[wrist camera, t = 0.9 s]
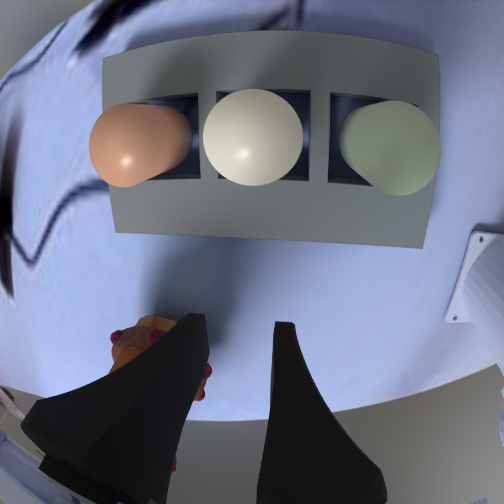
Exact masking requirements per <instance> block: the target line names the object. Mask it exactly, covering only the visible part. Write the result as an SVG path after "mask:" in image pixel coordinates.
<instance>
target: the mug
mask: <svg viewBox="0 0 504 504" xmlns="http://www.w3.org/2000/svg"><path fill="white" fill-rule="evenodd" d="M177 323H178V322H176V321H174V320H172V319H166V318H164V317H160V316H156V315H149V316H145V317H143V318H140V319H139V321H138V322H137V324H136V325H135V326H134V327H130V328H127V329H124V330H122V331H121V330H117V331H115V332H114V333H112V334H111V338H110V339H111V342H112V343H113V347H112V357H113V360H114V364H113V366H112V368H111V370H110V372H109V374H110V373H112V372H113V371H115V370H117V369H118V368H120V367H122V366H123V365H125V364H127V363H128V362H130V361H131V360H133V359H134V358H135V357H137V356H138V355H139V354H141V353H142V352H143V351H145V350H146V349H147V348H149V347H150V346H151V345H153V344H154V343H155V342H156V341H157V340H159V339H160V338H161V337H162V336H163V335H165V334H166V333H167V332H168V331H169V330H170V329H171V328H173V327H174V326H175V325H176V324H177ZM211 373H212V368H211V366H210V365H209V363H207V365H206V368H205V372H204V375H203V378H202V381H201V383H200V386H199V388H198V390H197V393H196V395H195V398H194V400H193V401H195V400H196V401H201V400H203V399H204V397H205V391H204V386H205V384H206V381H207V378H208V377H210V375H211ZM175 470H176V456H175V459H174V463H173V467H172V472H174V471H175ZM172 472H171V473H172Z"/></svg>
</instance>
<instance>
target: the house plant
mask: <svg viewBox="0 0 504 504" xmlns="http://www.w3.org/2000/svg"><path fill="white" fill-rule="evenodd" d="M7 412H8V411H7V409H6V408H5V407H4V406H3V405H2V404H1V403H0V423H3V420H4V418H5V416H6V414H7Z"/></svg>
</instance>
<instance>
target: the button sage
mask: <svg viewBox="0 0 504 504" xmlns="http://www.w3.org/2000/svg"><path fill="white" fill-rule="evenodd" d="M338 145H339V149H340V152H341V155H342V157H343V158H344V160H345V162H346V163H347V164H348V165H349V166H350V167H351V168H352V169H353V170H355V171H356V172H357V173H358V174H359V175H361V176H362V177H363V178H364V179H365V180H367V181H368V182H369V183H370V184H371V185H372V186H374V187H375V188H377V189H378V190H380V191H382V192H384V193H387V194H390V195H397V196H402V195H409V194H412V193H415V192H417V191H419V190H421V189H422V188H423V187H425V186H426V185H427V184H428V183H429V182H430V181H431V179H432V178H433V176H434V175H435V173H436V170H437V168H438V165H439V161H440V141H439V137H438V134H437V131H436V129H435V127H434V125H433V123H432V122H431V120H430V119H429V118H428V116H427V115H426V114H425V113H424V112H423V111H421V110H420V109H419V108H417V107H415V106H414V105H412V104H409V103H407V102H403V101H396V100H395V101H385V102H380V103H376V104H371V105H367V106H363V107H359V108H357V109H355V110H353V111H352V112H350V113H349V114H348V115H347V116H346V117H345V118H344V120H343V122H342V123H341V126H340V128H339V132H338Z"/></svg>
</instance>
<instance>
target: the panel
mask: <svg viewBox="0 0 504 504" xmlns="http://www.w3.org/2000/svg"><path fill="white" fill-rule="evenodd" d="M244 89H261V90H266V91H269V92H272V93H297V94H309V145H308V175H295V174H285V175H284V176H283V177H281V178H280V179H278V180H276V181H274V182H272V183H269V184H265V185H259V186H248V185H242V184H238V183H235V182H233V181H231V180H229V179H227V178H225V177H224V176H222V175H221V174H220V173H219V172H218V171H217V170H216V169H215V168H214V167H213V165H212V164H211V162H210V161H209V159H208V157H207V155H206V152H205V148H204V143H203V131H204V125H205V122H206V119H207V117H208V115H209V113H210V112H211V110H212V109H213V107H214V106H215V105H216V104H217V103H218V102H219V101H220V100H222V99H223V98H224V97H225V94H231V93H234V92H237V91H240V90H244ZM194 96H198V114H199V148H200V172H201V173H182V174H159V175H156V176H154V177H152V178H150V179H147V180H145V181H143V182H141V183H139V184H136V185H134V186H131V187H116V186H113V185H111V184H109V183H108V185H109V193H110V200H111V207H112V213H113V220H114V226H115V231H116V233H136V234H163V235H188V236H211V237H232V238H253V239H272V240H291V241H309V242H326V243H343V244H359V245H375V246H390V247H405V248H419V249H423V244H424V240H425V235H426V230H427V225H428V220H429V215H430V209H431V203H432V197H433V190H434V183H435V175H436V173H435V175H434V176H433V178H432V179H431V181H430V182H429V183H428V184H427V185H426V186H425V187H423V188H422V189H421V190H419V191H417V192H415V193H412V194H409V195H402V196H397V195H390V194H387V193H384V192H382V191H380V190H378V189H377V188H375V187H374V186H372V185H371V184H370V183H369V182H368V181H367V180H364V179H354V178H342V177H329V176H328V161H329V135H330V96H340V97H350V98H358V99H366V100H373V101H379V102H385V101H395V100H396V101H403V102H407V103H409V104H412V105H414V106H415V107H417V108H419V109H420V110H421V111H423V112H424V113H425V114H426V115H427V116H428V118H429V119H430V120H431V122H432V123H433V125H434V127H435V129H436V131H437V134H438V137H439V125H440V74H439V57H438V54H435V53H432V52H428V51H425V50H421V49H418V48H414V47H410V46H406V45H402V44H397V43H393V42H388V41H383V40H378V39H372V38H366V37H359V36H352V35H345V34H336V33H325V32H311V31H281V30H275V31H244V32H230V33H220V34H211V35H203V36H195V37H189V38H183V39H177V40H172V41H167V42H162V43H157V44H153V45H148V46H144V47H140V48H136V49H132V50H129V51H125V52H122V53H118V54H115V55H112V56H108V57H105V58H103V69H102V106H103V112H105V111H106V110H107V109H109V108H110V107H112V106H115V105H118V104H124V103H125V104H142V103H148V102H154V101H161V100H168V99H176V98H185V97H194Z"/></svg>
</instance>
